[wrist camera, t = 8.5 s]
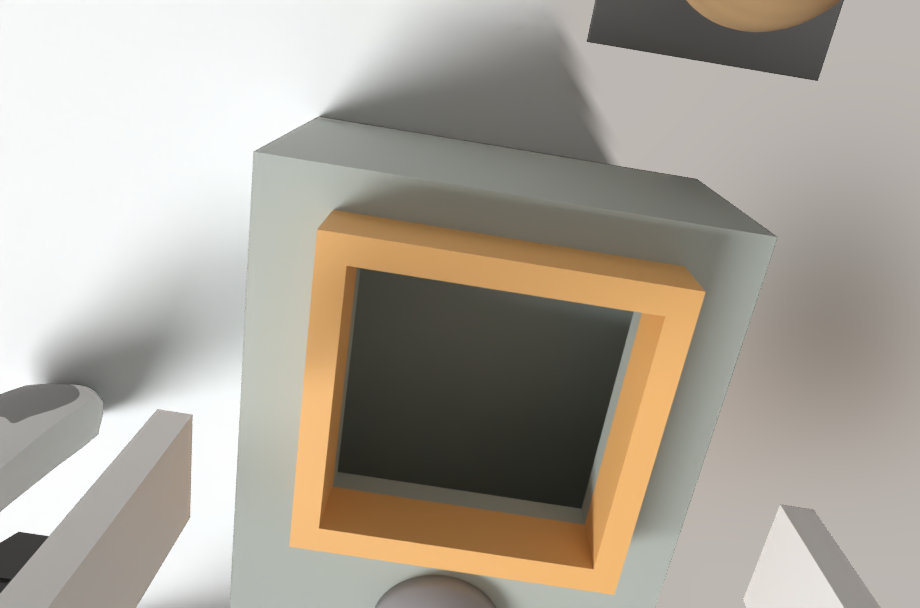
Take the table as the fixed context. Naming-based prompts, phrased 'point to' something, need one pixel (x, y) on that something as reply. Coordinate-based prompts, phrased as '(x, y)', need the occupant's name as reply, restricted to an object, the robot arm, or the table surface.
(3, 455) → the headphones
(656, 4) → the mat
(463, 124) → the table surface
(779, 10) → the bead
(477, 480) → the grey boxy piece
